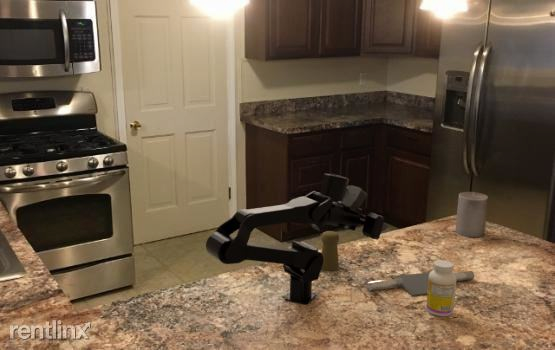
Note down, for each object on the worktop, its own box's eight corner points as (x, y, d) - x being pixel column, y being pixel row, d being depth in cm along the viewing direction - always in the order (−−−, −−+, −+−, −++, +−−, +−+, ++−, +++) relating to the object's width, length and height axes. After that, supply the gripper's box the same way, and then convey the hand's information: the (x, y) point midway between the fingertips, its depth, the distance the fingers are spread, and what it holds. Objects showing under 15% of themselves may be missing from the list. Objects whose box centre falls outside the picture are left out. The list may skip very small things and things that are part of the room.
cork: (340, 271, 163) (341, 236, 160) (319, 271, 163) (320, 235, 160) (338, 263, 169) (339, 229, 166) (318, 263, 169) (319, 228, 166)
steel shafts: (369, 292, 150) (369, 284, 150) (365, 288, 152) (366, 280, 152) (473, 280, 158) (474, 272, 158) (468, 277, 161) (469, 269, 160)
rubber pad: (411, 296, 148) (411, 294, 148) (391, 277, 159) (391, 276, 159) (451, 291, 151) (452, 290, 151) (429, 273, 163) (429, 272, 162)
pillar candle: (464, 226, 204) (468, 186, 200) (489, 233, 196) (493, 192, 193) (449, 232, 198) (453, 191, 194) (474, 240, 190) (478, 197, 187)
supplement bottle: (432, 302, 145) (436, 256, 142) (457, 310, 141) (462, 262, 138) (421, 311, 140) (425, 263, 137) (446, 320, 136) (451, 271, 133)
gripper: (368, 193, 139) (408, 202, 149) (321, 177, 154) (360, 187, 164) (356, 236, 140) (396, 242, 150) (310, 216, 155) (349, 223, 164)
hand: (375, 222), depth 157 cm, fingers open, 9 cm apart
